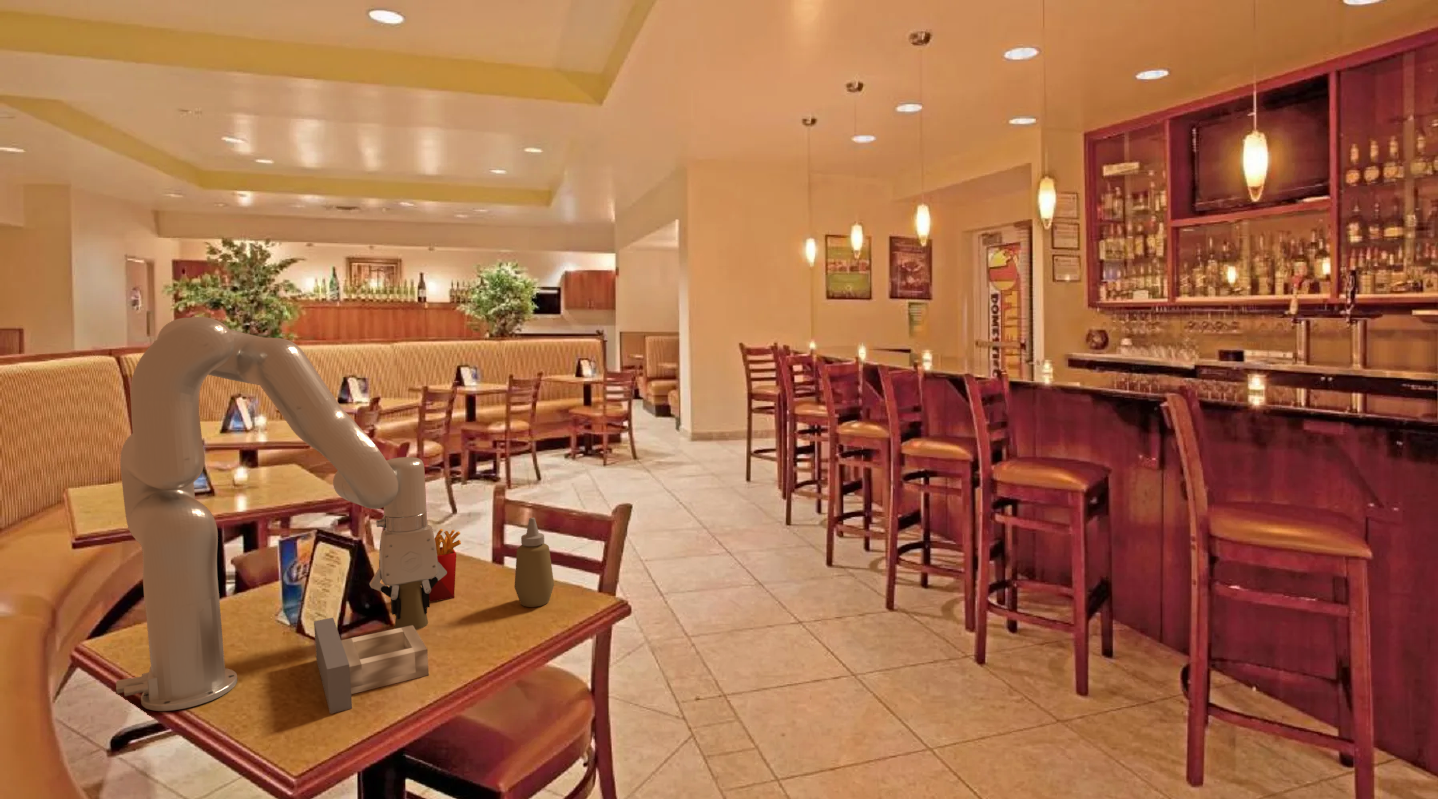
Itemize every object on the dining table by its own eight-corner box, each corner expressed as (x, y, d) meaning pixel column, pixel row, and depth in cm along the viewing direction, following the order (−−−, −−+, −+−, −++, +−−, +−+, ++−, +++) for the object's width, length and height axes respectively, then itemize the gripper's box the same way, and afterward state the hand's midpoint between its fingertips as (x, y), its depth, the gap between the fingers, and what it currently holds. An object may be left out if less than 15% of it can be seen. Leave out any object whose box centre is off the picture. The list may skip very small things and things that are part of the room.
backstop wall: (330, 713, 114) (327, 669, 113) (316, 659, 133) (313, 621, 132) (352, 708, 116) (349, 664, 115) (335, 655, 134) (333, 617, 133)
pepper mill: (416, 632, 144) (413, 576, 143) (388, 630, 145) (384, 574, 144) (434, 620, 150) (431, 565, 149) (406, 617, 151) (404, 564, 150)
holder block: (349, 694, 120) (347, 667, 120) (340, 666, 130) (338, 640, 130) (428, 675, 126) (427, 649, 126) (414, 649, 136) (412, 625, 136)
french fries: (421, 594, 164) (418, 526, 163) (461, 587, 168) (458, 521, 167) (427, 607, 157) (423, 536, 155) (468, 600, 160) (465, 530, 159)
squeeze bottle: (537, 593, 164) (534, 511, 162) (562, 600, 160) (560, 517, 158) (506, 604, 158) (503, 519, 156) (532, 612, 153) (529, 525, 151)
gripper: (361, 533, 138) (366, 630, 140) (455, 519, 147) (460, 611, 149) (355, 524, 144) (361, 617, 146) (446, 511, 153) (450, 599, 155)
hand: (410, 613), depth 147 cm, fingers closed on pepper mill, 4 cm apart
